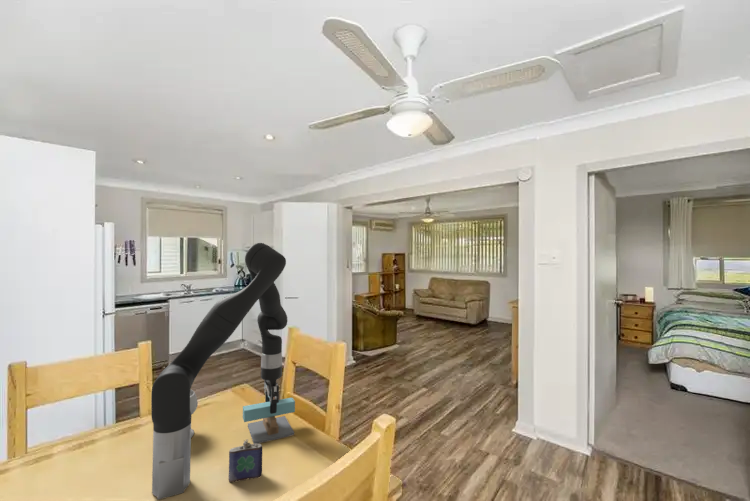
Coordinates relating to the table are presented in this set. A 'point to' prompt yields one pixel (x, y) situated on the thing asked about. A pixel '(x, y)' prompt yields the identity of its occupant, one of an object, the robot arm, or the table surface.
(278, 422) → the fulcrum
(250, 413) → the batten
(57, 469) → the table surface
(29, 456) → the table surface
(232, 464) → the flask
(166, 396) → the robot arm
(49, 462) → the table surface
